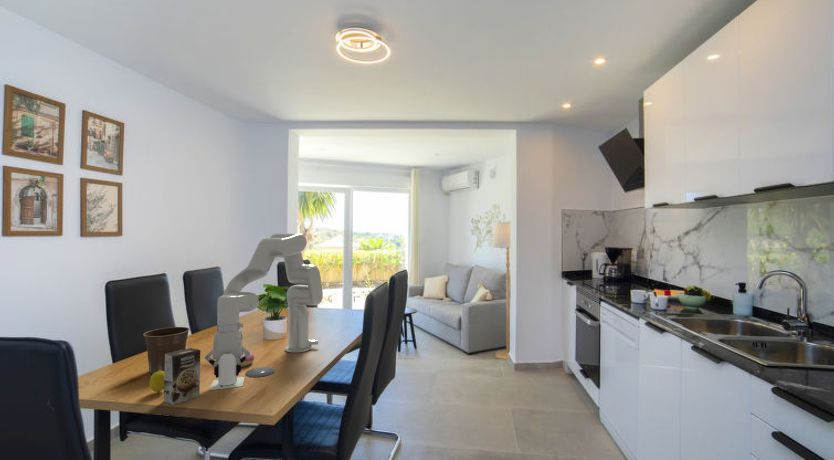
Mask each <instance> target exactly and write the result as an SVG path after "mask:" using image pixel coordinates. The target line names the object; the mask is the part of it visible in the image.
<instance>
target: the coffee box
mask: <svg viewBox="0 0 834 460" xmlns="http://www.w3.org/2000/svg"><path fill="white" fill-rule="evenodd" d="M200 381H201V350H200V349H198V348H194V347H189V348H186V349H184V350H179V351H175V352H170V353H166V354H165V372H164V390H163V401H164V402H165V403H168V404H169V405H172V406H173V405H177V404H179V403H180V404H181V403H183V402H186V401H189V400H192V399H194V398H198V397H200V395H201V394H200V391H201V390H200V387H201V386H200V385H201V384H200V383H201V382H200Z"/></svg>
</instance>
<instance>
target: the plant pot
mask: <svg viewBox="0 0 834 460" xmlns="http://www.w3.org/2000/svg"><path fill="white" fill-rule="evenodd" d="M190 330H191V329H190V328H189V327H185V326H171V327H170V326H169V327H163V328H162V327H161V328H156V329H153V330H148V331H146V332H144V333H143V334H142V335H143V337H144V342H145V345H146V351H147V360H148V362H147V363H148V371H149V374H151V375H153V374H154V373H155V372H157V371H158V370H161V371H164V372H165V354H166V353H170V352H175V351H179V350H184V349H187V340H188V337H189V331H190Z"/></svg>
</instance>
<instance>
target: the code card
mask: <svg viewBox="0 0 834 460" xmlns="http://www.w3.org/2000/svg"><path fill="white" fill-rule="evenodd" d="M245 377H246V376H240V377H239V376H237V382H236V383H235V384H232V385H228V386H221V385H219V384H218V379H214V380H213V381H212V383H211V385H210V386H209V389H208V391H215V390H224V389H233V388H241V387H243V385H244V382H245V379H246V378H245Z"/></svg>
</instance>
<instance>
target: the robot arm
mask: <svg viewBox="0 0 834 460" xmlns="http://www.w3.org/2000/svg"><path fill="white" fill-rule="evenodd" d="M307 242H308V241H307V238H306V236H305V235H304V234H303V233H298V232H295V233H293V232H290V233H289V232H278V233H273V234H271V235H270V237H266V238H263V239H262V240H259V243H258V244H257V247H256V249H255V250H254V253H253V254H252V257H251V259H250V261H249V263H248V264H247V266H246V267H245V268H243V270H241V271H240V272H238V274H236V275H235V276H234V277H232V279H231V280H230V281H229V282H228V284H227V286H226V288H225V289H224V291H223V294H222V295H221V296H218V298H217V313H216V315H217V320H216V321H217V322H216V324H217V327H216V331H215V333H214V337H213V342H212V349H211V350H210V351H209V352H208V353H207V354H206V355H205V356H204V359H205V361H207V362H208V363H209V364H210V365H212V367H213V375H214V376H215V378H216V379H217V378H218V367H219V359H220V357H221V356H222V355H223V353H232V354H233V355H234V356H235V358H236V361H237V365H236V375H237V377H239V375H240V373H242V367H241V363H242V362H243V361H244V360H245V359H246V358H247V357H248V356H249V355H250V352H251V351H249V350H248V349H246V348H245V347H244V339H243V331H242V330H241V329H242V328H244V323H240V313H248V312H252V311H254V310H255V309H257V307H259V302H260V300H259V297H258V295H257V294H256V293H254V292H248V291H242V290H243V289H244V288H245V287H246V286H247V285H249V284H251V283H253V282H256V281H257V280H261V279H263V278H265V277H266V276H267V275H268V274H269V271H270V269H271V267H272V265H273V263H274V261H275V259H276V258H283V261H284V267H285V272H286V273H285V274H286V278H287V280H288V281H287V282H289V283H291V284H293V285H291V286H289V288H288V289H287V291H286V299H287V305H288V306H287V307H288V339H287V340H288V343H287V344H288V345H287V346H285V347H284V351H285V352H287V353H294V354H295V353H297V354H298V353H304V352H309V351H310V350H312V345H314V346H316V345H319V340H315V339H310V338H309V334H310V333H309V332H310V330H309V329H310V327H309V326H310V324H309V323H310V320H309V319H310V312H309V309H308V307H307V306H317V305H320V304H321V303H322V302H323V298H324V297H323V296H324V295H323V285H322V278H321V272H320V269H319V267H317V266H316V265H315V264H309V263H308V264H307V263H304V259H303V254H302V252H303V251H304V250H305V249H306V247H307ZM243 352H244V353H245V355H244V356H243V357H242V358H240V357H241V356H242V353H243Z"/></svg>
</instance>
